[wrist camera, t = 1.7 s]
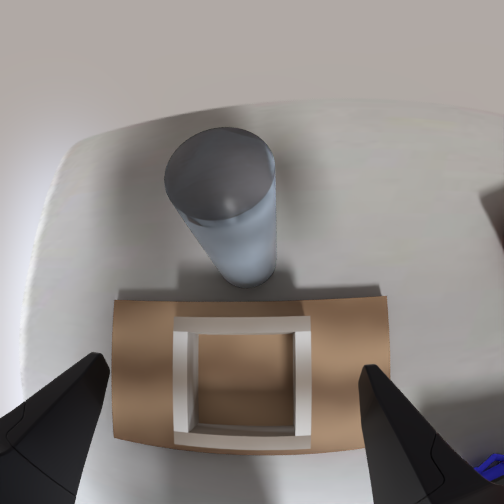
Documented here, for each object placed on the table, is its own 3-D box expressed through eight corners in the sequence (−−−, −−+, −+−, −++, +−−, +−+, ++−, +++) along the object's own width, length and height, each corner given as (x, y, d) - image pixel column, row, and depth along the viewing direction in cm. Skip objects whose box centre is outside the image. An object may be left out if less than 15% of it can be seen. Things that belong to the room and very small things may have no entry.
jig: (383, 440, 19) (401, 454, 16) (119, 435, 21) (95, 445, 17) (382, 298, 23) (400, 288, 19) (119, 301, 25) (96, 292, 21)
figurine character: (520, 428, 18) (417, 470, 18) (569, 433, 11) (469, 498, 10) (509, 479, 16) (404, 528, 16) (552, 491, 9) (445, 563, 8)
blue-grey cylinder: (229, 296, 24) (180, 238, 12) (209, 243, 26) (155, 150, 13) (285, 274, 24) (294, 194, 12) (263, 222, 26) (250, 114, 14)
